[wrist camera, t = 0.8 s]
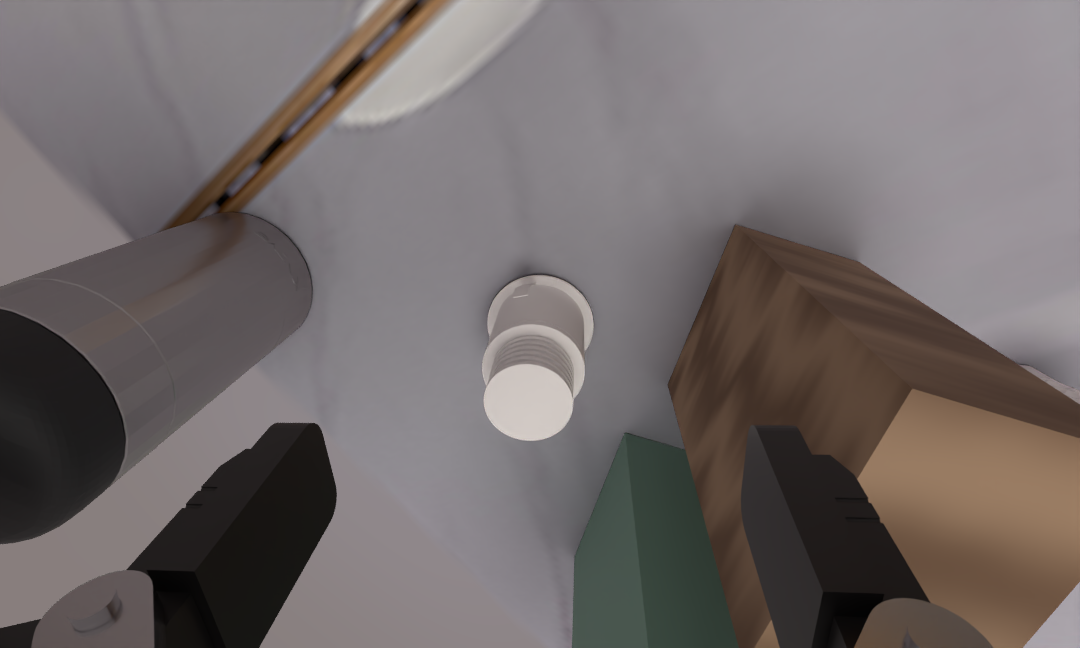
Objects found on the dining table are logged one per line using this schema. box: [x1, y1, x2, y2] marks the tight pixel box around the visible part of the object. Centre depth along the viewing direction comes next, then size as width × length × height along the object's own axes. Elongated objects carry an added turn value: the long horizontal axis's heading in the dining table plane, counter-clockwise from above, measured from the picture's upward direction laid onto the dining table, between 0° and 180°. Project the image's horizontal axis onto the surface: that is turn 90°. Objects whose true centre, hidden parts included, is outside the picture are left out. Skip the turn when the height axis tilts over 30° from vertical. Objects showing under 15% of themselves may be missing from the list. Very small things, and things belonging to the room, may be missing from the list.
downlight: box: [482, 275, 594, 441], centre depth 35 cm, size 8×7×10 cm
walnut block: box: [668, 224, 1080, 648], centre depth 28 cm, size 12×8×21 cm
